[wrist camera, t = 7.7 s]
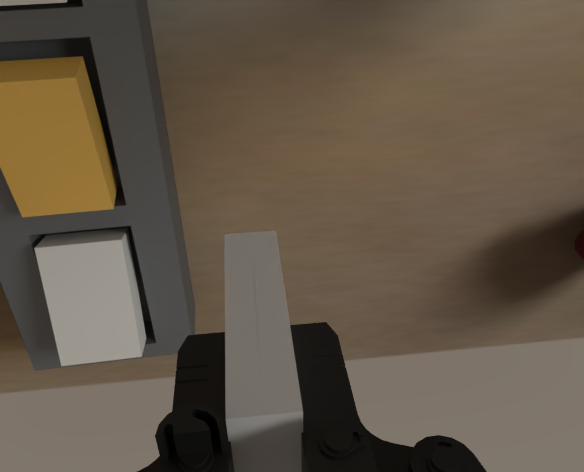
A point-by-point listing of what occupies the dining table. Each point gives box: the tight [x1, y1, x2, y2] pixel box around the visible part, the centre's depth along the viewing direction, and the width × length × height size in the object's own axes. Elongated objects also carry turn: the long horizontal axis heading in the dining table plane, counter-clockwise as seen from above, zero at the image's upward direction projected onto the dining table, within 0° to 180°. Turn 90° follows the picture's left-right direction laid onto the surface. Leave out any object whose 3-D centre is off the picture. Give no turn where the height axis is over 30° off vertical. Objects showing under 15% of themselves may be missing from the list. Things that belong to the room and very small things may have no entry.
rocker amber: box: [0, 56, 117, 217], centre depth 29 cm, size 8×5×2 cm, turn 2°
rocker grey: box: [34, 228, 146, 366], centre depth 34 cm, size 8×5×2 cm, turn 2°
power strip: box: [0, 0, 195, 370], centre depth 30 cm, size 38×11×5 cm, turn 2°
